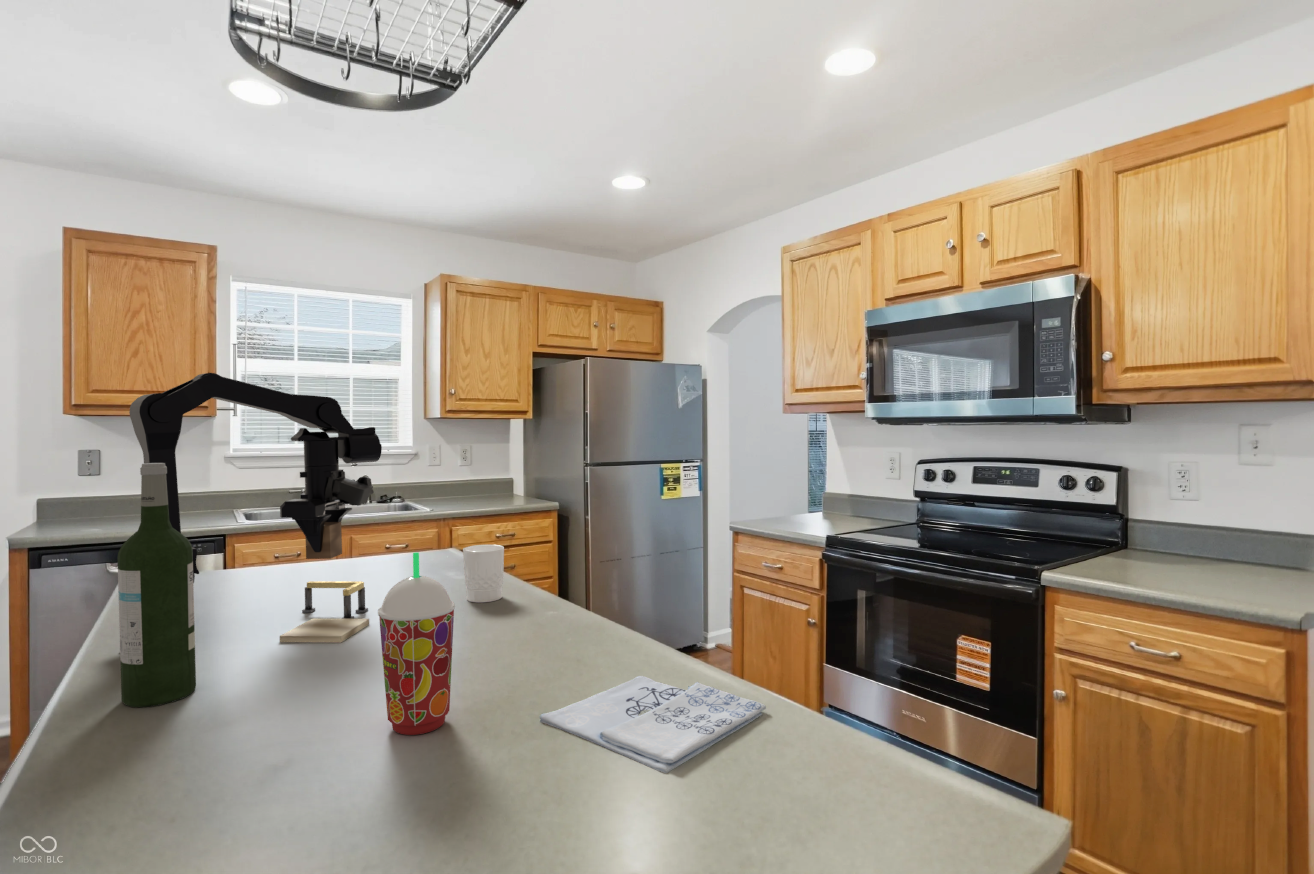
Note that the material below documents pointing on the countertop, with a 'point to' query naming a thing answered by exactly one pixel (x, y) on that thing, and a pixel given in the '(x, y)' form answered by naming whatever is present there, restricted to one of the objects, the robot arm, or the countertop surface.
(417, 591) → the smoothie
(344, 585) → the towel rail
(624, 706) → the folded bicycle towel
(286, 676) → the countertop surface
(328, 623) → the birch pad
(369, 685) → the countertop surface
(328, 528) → the walnut block
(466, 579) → the white cup
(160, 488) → the wine bottle
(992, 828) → the countertop surface
